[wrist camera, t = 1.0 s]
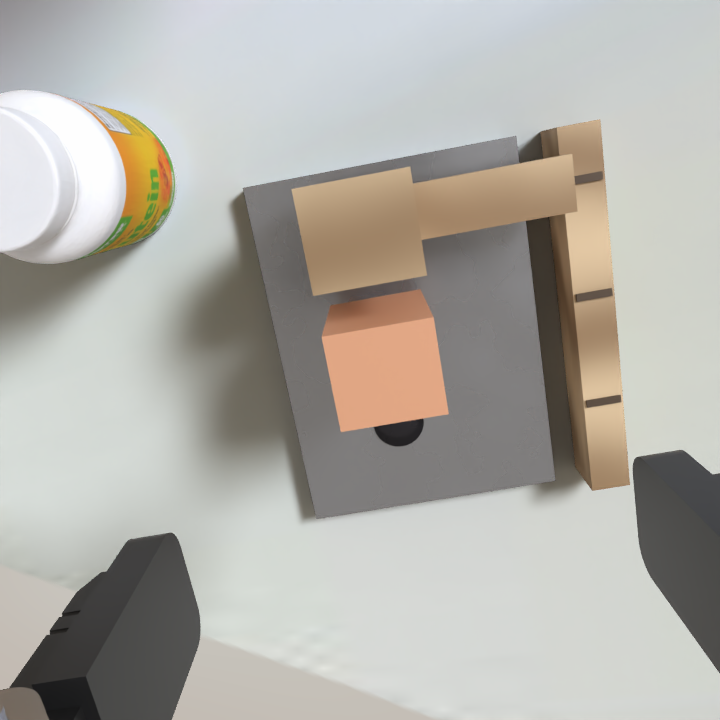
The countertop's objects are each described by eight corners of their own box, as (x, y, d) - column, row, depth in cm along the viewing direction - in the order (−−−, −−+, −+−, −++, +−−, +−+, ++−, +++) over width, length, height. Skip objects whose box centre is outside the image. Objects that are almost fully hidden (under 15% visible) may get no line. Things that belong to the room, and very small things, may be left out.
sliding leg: (332, 296, 27) (321, 337, 20) (416, 282, 27) (433, 317, 20) (347, 370, 28) (340, 432, 21) (428, 356, 28) (448, 414, 21)
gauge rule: (312, 175, 27) (288, 174, 19) (580, 124, 27) (674, 101, 19) (375, 499, 31) (377, 613, 23) (609, 461, 31) (698, 565, 22)
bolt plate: (246, 187, 28) (242, 188, 26) (510, 137, 27) (516, 135, 26) (317, 508, 31) (316, 519, 30) (549, 471, 31) (555, 481, 30)
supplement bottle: (148, 267, 28) (41, 312, 19) (31, 205, 28) (-139, 221, 18) (201, 152, 27) (114, 139, 18) (79, 84, 27) (-77, 35, 17)
